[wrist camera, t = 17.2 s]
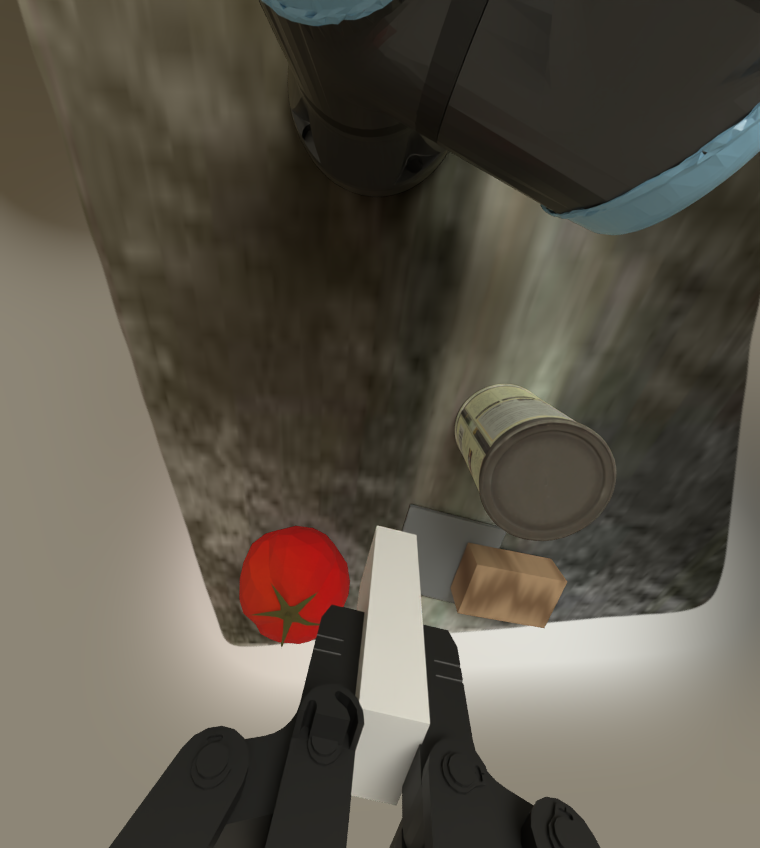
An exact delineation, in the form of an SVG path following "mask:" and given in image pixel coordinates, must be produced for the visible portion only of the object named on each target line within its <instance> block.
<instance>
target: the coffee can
mask: <svg viewBox="0 0 760 848" xmlns="http://www.w3.org/2000/svg"><path fill="white" fill-rule="evenodd" d="M455 438H456V442H457V445H458V448H459V449H460V451H461V453H462V455H463V457H464V459H465V461H466V464H467V466H468V468H469V470H470V473H471V475H472V477H473V479H474V481H475V484H476V486H477V488H478V490H479V493H480V497H481V501H482V504H483V506H484V509H485V511H486V512H487V514H488V515H489V517H490V518H491V519H492V520H493V522H494V523H495V524H496V525H497V526H499V527H500V528H501V529H502V530H504V531H505V532H507V533H509V534H511V535H513V536H516V537H519V538H522V539H527V540H535V541H549V540H556V539H560V538H564V537H566V536H569V535H572V534H574V533H576V532H578V531H580V530H581V529H583V528H585V527H586V526H588V525H589V524H590V523H592V522H593V521H594V520H595V519H596V518H597V517H598V516H599V515H600V514H601V513H602V511H603V510H604V509H605V507H606V506H607V504H608V502H609V501H610V499H611V496H612V494H613V491H614V488H615V483H616V465H615V460H614V457H613V455H612V452H611V450H610V448H609V447H608V445H607V444H606V442H605V441H604V440H603V439H602V438H601V437H600V436H599V435H598V434H597V433H596V432H594V431H593V430H592V429H590V428H588V427H586V426H585V425H583V424H580V423H578V422H576V421H574V420H572V419H571V418H569V417H568V416H566V415H565V414H563V413H562V412H560V411H558V410H557V409H555V408H554V407H552V406H551V405H549V404H547V403H546V402H544V401H543V400H541V399H539V398H538V397H536V396H535V395H534V394H533V393H531V392H530V391H528V390H527V389H525V388H522V387H520V386H517V385H513V384H497V385H492V386H489V387H486V388H484V389H482V390H480V391H478V392H476V393H475V394H474V395H472V396H471V397H470V398H469V399H468V400H467V401H466V402H465V403H464V405H463V406H462V407H461V409H460V411H459V413H458V415H457V419H456V423H455Z"/></svg>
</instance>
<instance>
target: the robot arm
mask: <svg viewBox="0 0 760 848" xmlns="http://www.w3.org/2000/svg"><path fill="white" fill-rule="evenodd" d="M259 2H260V4H261V6H262V8H263V11H264V13H265V15H266V17H267V19H268V21H269V23H270V25H271V27H272V30H273V32H274V34H275V36H276V38H277V40H278V42H279V44H280V46H281V49H282V51H283V53H284V55H285V57H286V59H287V61H288V64H289V65H288V96H289V103H290V109H291V113H292V117H293V121H294V124H295V127H296V130H297V132H298V135H299V137H300V139H301V141H302V143H303V145H304V146H305V148H306V150H307V152H308V153H309V155H310V157H311V158H312V160H313V161H314V163H315V164H316V165H317V167H318V168H319V169H320V170H321V171H322V172H323V173H324V174H325V175H326V176H327V177H328V178H329V179H330V180H332V181H333V182H334V183H336V184H337V185H339V186H340V187H342V188H344V189H346V190H348V191H351V192H353V193H356V194H360V195H364V196H372V197H382V196H390V195H394V194H398V193H401V192H404V191H406V190H408V189H410V188H412V187H414V186H416V185H417V184H419V183H420V182H422V181H423V180H424V179H426V178H427V177H428V176H429V175H430V174H431V173H432V172H433V171H434V170H435V169H436V168H437V167H438V165H439V164H440V163H441V161H442V160H443V159H444V157H445V156H446V154H447V152H448V151H450V152H451V153H453V154H455V155H457V156H458V157H460V158H462V159H463V160H465V161H467V162H469V163H470V164H472V165H474V166H476V167H477V168H479V169H481V170H483V171H484V172H486V173H488V174H490V175H491V176H493V177H495V178H497V179H498V180H500V181H502V182H504V183H505V184H507V185H509V186H511V187H512V188H514V189H516V190H518V191H519V192H521V193H523V194H524V195H526V196H528V197H530V198H531V199H533V200H535V201H537V202H538V203H540V204H541V207H542V209H543V210H544V211H545V212H547V213H548V214H550V215H552V216H554V217H556V216H557V217H559V218H562V219H569V220H570V221H572V222H574V223H576V224H578V225H580V226H582V227H584V228H586V229H588V230H590V231H593V232H595V233H598V234H608V235H622V234H626V233H631V232H635V231H638V230H641V229H644V228H647V227H649V226H652V225H654V224H656V223H658V222H661V221H663V220H665V219H667V218H669V217H671V216H672V215H674V214H676V213H678V212H679V211H681V210H683V209H684V208H686V207H688V206H689V205H691V204H692V203H694V202H695V201H697V200H698V199H700V198H701V197H703V196H704V195H706V194H707V193H709V192H710V191H711V190H713V189H714V188H715V187H717V186H718V185H719V184H721V183H722V182H724V181H725V180H726V179H727V178H729V177H730V176H731V175H733V174H734V173H735V172H736V171H737V170H739V169H740V168H741V167H742V166H743V165H745V164H746V163H747V162H748V161H749V160H750V159H751V158H752V157H754V156H755V155H756V154H757V153H758V152H759V151H760V0H259ZM462 680H463V679H462V673H461V668H460V661H459V655H458V649H457V646H456V644H455V642H454V641H453V639H452V637H451V635H450V633H449V631H448V630H444V629H440V628H436V627H431V626H427V625H423V619H422V605H421V591H420V577H419V564H418V550H417V536H416V535H415V534H410V533H406V532H402V531H398V530H394V529H390V528H385V527H381V526H377V527H376V530H375V534H374V537H373V541H372V544H371V548H370V552H369V555H368V559H367V562H366V566H365V569H364V573H363V577H362V580H361V584H360V590H359V598H358V605H357V610H353V609H349V608H345V607H340V606H336V605H331V606H330V607H329V608H328V610H327V611H326V612H325V613H324V614H323V616H322V617H321V621H320V625H319V629H318V633H317V637H316V641H315V645H314V649H313V653H312V657H311V661H310V665H309V669H308V673H307V677H306V681H305V686H304V690H303V693H302V698H301V702H300V705H299V708H298V710H297V713H296V714H295V716H294V717H293V719H292V720H291V721H290V722H289V723H288V724H287V725H286V726H285V727H284V728H282V729H281V730H279V731H277V732H275V733H273V734H269V735H266V736H261V737H256V738H249V739H244V738H243V737H242V736H241V735H240V734H239V733H238V732H237V731H236V730H235V729H231V728H228V727H224V726H218V727H212V728H207V729H205V730H203V731H202V732H200V733H198V734H196V735H194V736H193V737H192V738H191V739H190V740H189V741H188V742H187V743H186V744H185V745H184V746H183V747H182V749H181V750H180V751H179V753H178V754H177V755H176V757H175V758H174V759H173V761H172V762H171V764H170V765H169V766H168V768H167V769H166V770H165V772H164V773H163V775H162V776H161V777H160V779H159V780H158V782H157V783H156V784H155V786H154V787H153V788H152V790H151V791H150V792H149V794H148V795H147V796H146V798H145V799H144V801H143V802H142V803H141V805H140V806H139V807H138V809H137V810H136V811H135V813H134V814H133V815H132V817H131V818H130V820H129V821H128V822H127V824H126V825H125V827H124V828H123V829H122V831H121V832H120V833H119V835H118V836H117V837H116V839H115V840H114V841H113V843H112V844H111V846H110V847H109V848H346V843H347V832H348V823H349V813H350V801H351V795H352V796H356V797H361V798H365V799H370V800H375V801H379V802H384V803H389V804H393V805H397V803H398V800H399V798H400V795H401V793H402V817H403V818H402V820H401V822H400V824H399V827H398V829H397V831H396V834H395V836H394V838H393V841H392V843H391V845H390V848H600V846H599V844H598V843H597V841H596V839H595V837H594V835H593V834H592V832H591V831H590V829H589V828H588V826H587V824H586V823H585V821H584V820H583V819H582V818H581V817H580V816H579V815H578V814H577V813H576V812H575V811H574V810H573V809H572V808H571V807H570V806H568V805H567V804H565V803H564V802H562V801H560V800H559V799H556V798H550V797H544V798H542V799H540V800H538V801H536V803H535V805H532V804H530V803H529V802H527V801H525V800H524V799H522V798H521V797H519V796H517V795H516V794H514V793H513V792H511V791H509V790H508V789H506V788H505V787H503V786H502V785H501V784H499V783H498V782H497V781H496V780H495V779H494V778H493V777H492V776H491V775H490V774H489V773H488V772H487V769H486V766H485V765H484V763H483V762H482V760H481V759H480V757H479V755H478V754H477V753H476V751H475V747H474V743H473V739H472V733H471V727H470V721H469V715H468V710H467V704H466V697H465V691H464V685H463V683H462Z"/></svg>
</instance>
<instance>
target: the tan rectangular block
mask: <svg viewBox="0 0 760 848" xmlns="http://www.w3.org/2000/svg"><path fill="white" fill-rule="evenodd" d="M566 583H567V581H566V579H565V578H564V576H563V575H562V574H561V572H560V571H559V569H558V568H557V567H556V565H555V564H554V562H553V561H552V560H551V559H549V558H544V557H539V556H534V555H529V554H524V553H519V552H514V551H509V550H503V549H498V548H493V547H488V546H483V545H478V544H473V543H468V544H467V546H466V549H465V552H464V554H463V557H462V559H461V562H460V565H459V567H458V570H457V572H456V575H455V578H454V580H453V583H452V585H451V592H452V595H453V598H454V602H455V605H456V609H457V612H458V613H460V614H466V615H472V616H477V617H483V618H489V619H495V620H500V621H506V622H512V623H518V624H523V625H529V626H535V627H541V628H544V627H545V625H546V624H547V622H548V619H549V617H550V615H551V613H552V611H553V609H554V607H555V605H556V603H557V601H558V599H559V597H560V595H561V593H562V591H563V589H564V587H565V585H566Z"/></svg>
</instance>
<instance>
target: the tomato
mask: <svg viewBox="0 0 760 848" xmlns="http://www.w3.org/2000/svg"><path fill="white" fill-rule="evenodd" d="M349 585H350V580H349V573H348V567H347V563H346V561H345V560H344V558H343V557H342V555H341V554H340V552H339V551H338V549H337V547H336V546H335V545H334V543H333V542H332V541H331V540H330V539H329V537H328V536H327V535H326V534H324V533H322V532H320V531H318V530H316V529H314V528H309V527H301V526H293V527H289V528H285V529H281V530H277V531H273V532H270V533H267V534H265V535H263V536H262V537H261V538H259V539H258V540H257V541H255V542H254V543H253V544H252V545H251V547H250V550H249V552H248V554H247V556H246V558H245V560H244V563H243V567H242V572H241V576H240V596H239V599H240V603H241V606H242V610H243V613H244V614H245V615H246V616H247V617H248V618H249V619H250V620H251V621H253V622H254V623H255V624H256V626H257V628H258V629H259V631H260V633H261V634H262V635H264V636H266V637H268V638H270V639H272V640H274V641H277V642H281V646H283V643H294V644H301V643H305V642H309V641H311V640H313V639H315V638H316V637H317V633H318V629H319V625H320V621H321V617H322V616H323V614H324V613H325V612H326V611H327V610H328V608H329V607H330V606H331V605H336V606H340V607H343V606H344V604H345V602H346V599H347V597H348V594H349Z"/></svg>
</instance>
